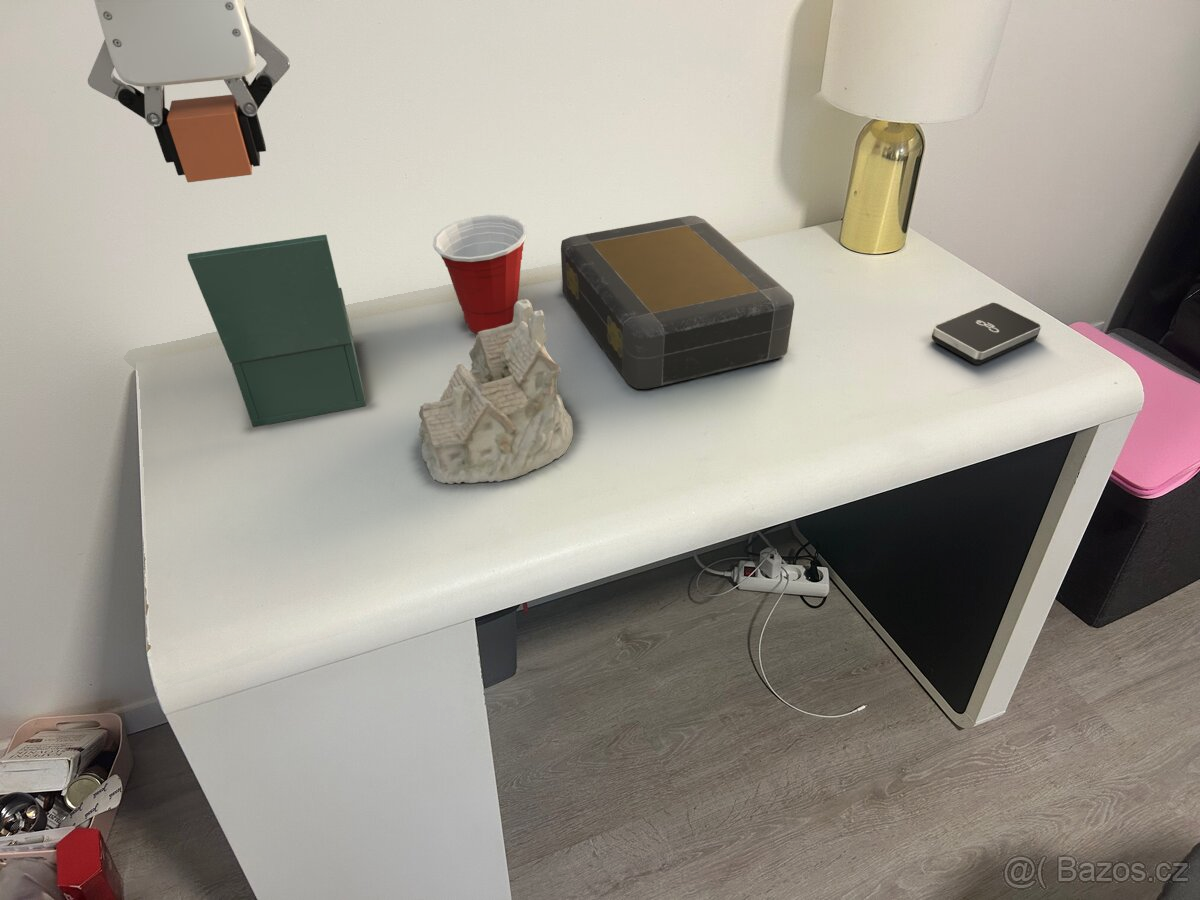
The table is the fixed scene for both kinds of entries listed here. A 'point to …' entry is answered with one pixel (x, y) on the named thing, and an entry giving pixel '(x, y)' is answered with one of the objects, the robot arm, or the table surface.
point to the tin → (301, 383)
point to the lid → (272, 297)
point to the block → (208, 138)
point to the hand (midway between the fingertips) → (219, 162)
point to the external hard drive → (985, 332)
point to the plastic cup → (484, 267)
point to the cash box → (674, 300)
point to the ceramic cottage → (498, 408)
